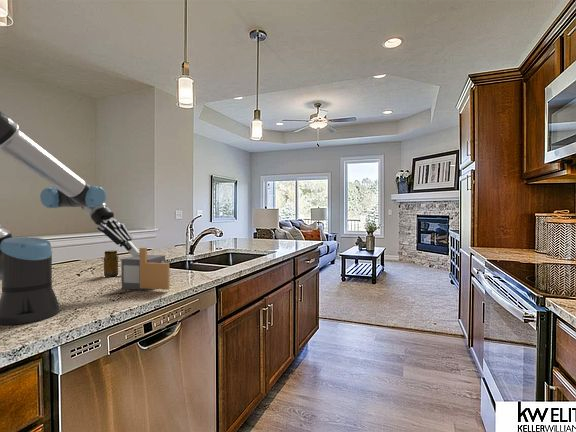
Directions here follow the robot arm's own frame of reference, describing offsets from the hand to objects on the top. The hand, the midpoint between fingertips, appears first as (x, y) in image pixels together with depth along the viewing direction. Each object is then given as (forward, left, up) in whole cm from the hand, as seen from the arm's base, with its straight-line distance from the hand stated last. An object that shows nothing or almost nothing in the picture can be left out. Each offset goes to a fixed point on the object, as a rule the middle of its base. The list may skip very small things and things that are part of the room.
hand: (137, 255), depth 125 cm
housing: (+7, +2, -14) cm, 16 cm away
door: (0, -7, -13) cm, 15 cm away
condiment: (+22, +29, -14) cm, 39 cm away
